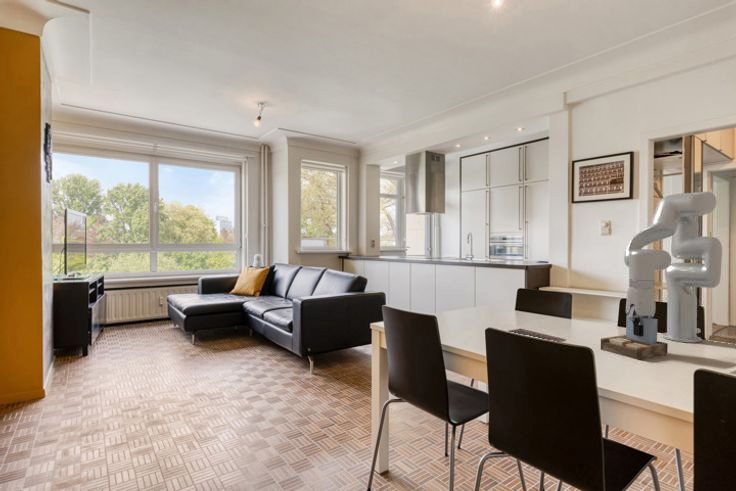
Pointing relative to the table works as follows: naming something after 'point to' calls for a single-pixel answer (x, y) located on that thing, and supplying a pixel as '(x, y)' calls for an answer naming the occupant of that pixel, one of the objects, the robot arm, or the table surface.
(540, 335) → the picture frame
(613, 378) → the table surface
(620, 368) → the table surface
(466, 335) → the table surface
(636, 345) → the offcut
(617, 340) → the offcut
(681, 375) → the table surface
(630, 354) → the rack
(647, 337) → the panel
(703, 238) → the robot arm
